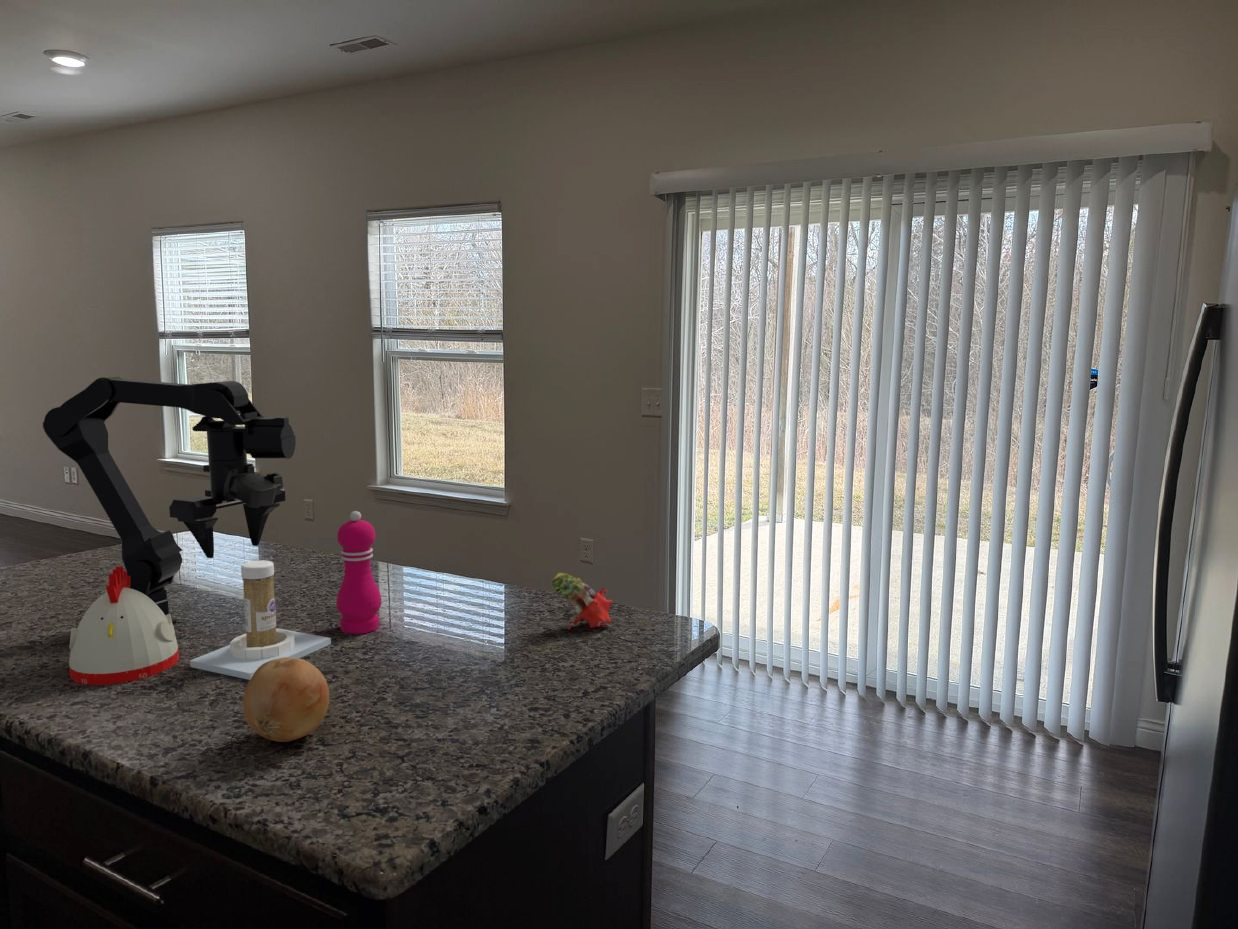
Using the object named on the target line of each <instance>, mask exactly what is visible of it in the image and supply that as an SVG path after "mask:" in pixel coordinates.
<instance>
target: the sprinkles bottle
mask: <svg viewBox="0 0 1238 929" xmlns="http://www.w3.org/2000/svg"><path fill="white" fill-rule="evenodd" d="M240 572H241V573H240V574H241V578H242V583H243V584H242V585H243V587H242V588H243V614H244V629H245V634H246V637H247V647H249V648H250V647H265V646H270V645H275V644H277V636H276V628H277V614H276V613H277V612H276V601H275V587H274V575H275V565H274V562H273V561H272V560H271V561H270V560H263V559H262V560H251V561H248V562H245V563H242V565H241V566H240Z"/></svg>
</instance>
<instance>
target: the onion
mask: <svg viewBox="0 0 1238 929" xmlns="http://www.w3.org/2000/svg"><path fill="white" fill-rule="evenodd" d="M247 683H248V684H247V685H246V687H245V690H244V693H243V697H242V708H243V710H242V711H243V716H244V719H245V721H246V723H247V726H248V727H249V728H250V729H251V730H252V731H253V732H254V733H256V734H257V735H259V736H260V737H262V738H264V739H265V740H269V741H274V742H277V743H278V742H279V743H287V742H288V743H289V742H292V741H296V740H298V739H300V738H303V737H306V736H307V735H309V734H311V733H312V732H314V731H315V730H316V729H317V728H318V727H319V725H320V724H321V723H322V722H323V720H324V718H325V716H326V714H327V712H328V708H329V704H330V690H329V685H328V682H327V679H326V677H325V676H324V675H323V673H322V672H321V671H320V669H318V668H317V667H316V666H315V665H313V664H312V663H311V662H309V661H307V660H304V659H302V658H293V657H283V658H278V659H274V660H271V661H268V662H266V663H264V664H262V665H261V666H260V667H259V668H258V669H257V670H256V671H255V673H254V675H253V676H252V678H251V679H250V680H248V682H247Z"/></svg>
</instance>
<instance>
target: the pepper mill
mask: <svg viewBox="0 0 1238 929" xmlns="http://www.w3.org/2000/svg"><path fill="white" fill-rule="evenodd" d="M361 518H362V514H361V512H360V511H357V510H353V511H352V512H351V513H350V514H349V519H350V520H348V521H346V522H344V523H342V524H341V525H340V526H339V528H338V531H337V534H336V535H337V537H336V538H337V543H338V545H339V546H340V547H341V548H342V550H340V552H341V560H343V561H344V562H343V563H344V573H343V574H344V576H343V580H342V582H341V585H340V588H339V590H338V592H337V597H336V609H337V611H338V613H340V615H341V616H342V617H341V618H340V620H339V622H340V624H339V626H340V630H341V632H343V633H344V634H349V635H358V634H359V635H360V634H362V635H363V634H368V633H370V632H371V633H372V632H374V631H376V630H377V629H379V627H380V616H379V615H378V614H377V612H379V610H380V609H381V607H382V604H383V603H382V595H381V591H380V589H379V587H378V585H377V582H376V580H375V579H374V577H373V572H372V567H371V560H372V558H373V556H374V554H373V551H374V548H372V547H371V546H372V545H373V544H374V543H375V540H376V532H375V531H376V530H375V528H374V527H373V525H372V523H370V522H368V521H366V520H362V519H361Z"/></svg>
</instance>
